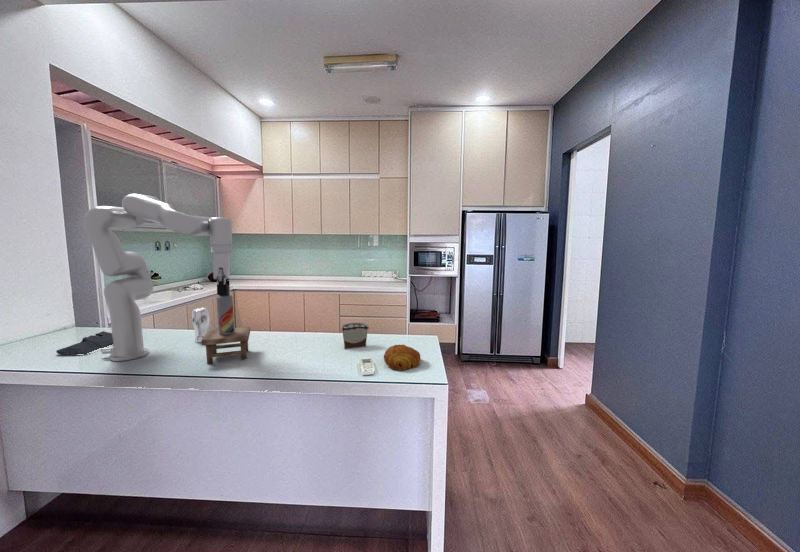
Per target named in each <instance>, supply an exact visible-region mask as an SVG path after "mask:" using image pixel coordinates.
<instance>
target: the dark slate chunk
mask: <svg viewBox="0 0 800 552" xmlns="http://www.w3.org/2000/svg"><path fill="white" fill-rule="evenodd" d="M112 344H113V338H112V332H108V331H104V330H103V331H101V332H98V333H95V335H89V336H85V337H83V338H82V340H81V341H80V342H77V343H74V344H72V345H68V346H66V347H62V348H60V349H57V350H56V353H57V354H59V355H72V354H87V353H89V352H92V351H94V350H97V349H99V348H104V347H107V346H109V345H112ZM112 346H113V345H112ZM107 348H108V347H107Z"/></svg>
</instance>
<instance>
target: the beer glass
mask: <svg viewBox="0 0 800 552" xmlns="http://www.w3.org/2000/svg"><path fill="white" fill-rule="evenodd" d="M191 323H192V326H193V330H194V335H195V337H194V342H195V343H197V344H198V343H200V344H202V342H201V340H202V339H203V337H204V336H205V334H206V333H207V331H208V330H210V328H209V327H210V312H209V308H208V307H197V308H193V309H191Z"/></svg>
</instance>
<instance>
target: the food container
mask: <svg viewBox="0 0 800 552" xmlns="http://www.w3.org/2000/svg"><path fill="white" fill-rule="evenodd" d="M368 330H370V328H369V325H368V324H367V323H363V322H348V323H345V324H343V325H342V326H341V329H340V331H341V332H342V337H343V343H344V344H343V346H344V350H350V349H359V348H360V349H361V348H366V347H367V338H368Z"/></svg>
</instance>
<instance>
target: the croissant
mask: <svg viewBox="0 0 800 552" xmlns="http://www.w3.org/2000/svg"><path fill="white" fill-rule="evenodd" d="M383 360H384V362H385V365H386V366H387V367H388V368H390V369H392V370H395V371H404V370H409V369H416V367H418V366H419V365H420V363H421V360H422V359H421V353H420V352H419V351H418V350H417V349H415V348H413V347H411V346H407V345H405V344H394V345H391V346H388V348H387V349H386V350H385V352H384V354H383Z"/></svg>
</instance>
